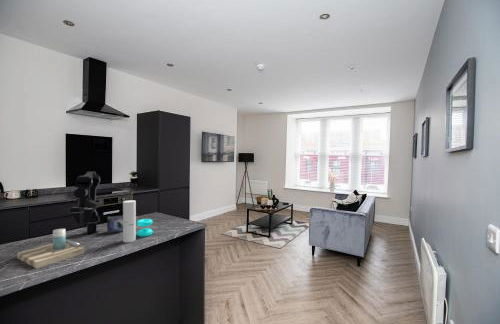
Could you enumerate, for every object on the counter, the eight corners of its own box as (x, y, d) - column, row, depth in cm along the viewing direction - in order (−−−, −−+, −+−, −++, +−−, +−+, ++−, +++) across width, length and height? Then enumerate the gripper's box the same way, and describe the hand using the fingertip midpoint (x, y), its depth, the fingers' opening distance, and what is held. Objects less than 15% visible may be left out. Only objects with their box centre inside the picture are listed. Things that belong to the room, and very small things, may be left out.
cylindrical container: (126, 238, 156) (126, 200, 155) (137, 238, 157) (137, 200, 156) (121, 242, 149) (121, 202, 148) (133, 242, 150) (133, 202, 149)
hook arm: (64, 242, 140) (64, 239, 140) (67, 241, 141) (67, 239, 141) (77, 247, 133) (77, 244, 133) (80, 246, 134) (80, 243, 134)
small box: (106, 234, 164) (106, 218, 164) (107, 231, 170) (107, 216, 170) (124, 232, 169) (124, 217, 169) (124, 229, 175) (124, 215, 175)
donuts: (155, 219, 166) (143, 223, 157) (155, 233, 166) (143, 238, 157) (146, 217, 170) (133, 221, 162) (145, 231, 171) (133, 235, 162)
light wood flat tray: (17, 258, 125) (17, 252, 125) (64, 245, 143) (64, 240, 143) (36, 268, 114) (36, 262, 114) (84, 253, 132) (84, 247, 132)
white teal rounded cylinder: (53, 252, 132) (53, 229, 132) (66, 250, 136) (65, 227, 135) (52, 256, 128) (52, 232, 127) (65, 253, 131) (65, 230, 131)
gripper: (88, 197, 139) (87, 225, 138) (105, 194, 158) (105, 218, 157) (68, 198, 139) (67, 225, 138) (88, 195, 157) (88, 219, 157)
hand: (83, 222), depth 147 cm, fingers open, 9 cm apart
